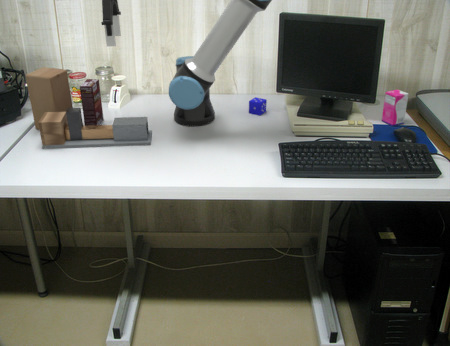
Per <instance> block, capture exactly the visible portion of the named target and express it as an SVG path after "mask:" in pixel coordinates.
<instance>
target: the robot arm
mask: <svg viewBox="0 0 450 346" xmlns="http://www.w3.org/2000/svg"><path fill="white" fill-rule="evenodd" d="M272 1H273V0H230V1H229V3H228V5H227V6H226V7H225V9H224V11H223V12H222V13H221V15H220V16H219V17H218V19H217V21H216V22H215V24H214V25H213V27H212V28H211V30H210V31H209V33H208V34H207V35H206V38H205V39H204V40H203V42H202V43H201V44H200V46H199V47H198V49H197V51H196V52H195V54H194V55H193V56H192V55H191V56H190V55H189V56H188V55H187V56H180V57H178V58H177V59H175V67H176V71H175V74H174V76H173V78H172V80H171V81H170V83H169V85H168V97H169V99H170V101H171V102H172V103H173V104H174V105H175V108H174V113H173V121H174V122H175V123H176V124H179V125H181V126H186V127H200V126H206V125H209V124H212V123H213V122H214V121H215V119H216V115H215V110H214V107H213V104H212V101H211V94H210V92H211V91H210V90H211V89H210V88H211V87H212V85H213V84H214V83H215V81H216V76H215V73H216V72H217V71H218V69H219V68H220V66H221V65H222V63H223V62H224V61H225V59H226V58H227V56H228V55H229V53H230V52H231V51H232V49H233V47H234V46H235V45H236V44H237V42H238V41H239V39H240V37H241V36H242V35H243V33H244V32H245V31H246V29H247V28H248V26H249V25H250V23H252V20H253V19H254V18H255V17H256V14H257V13H259V12H264V11H265V10H266V9H267V8H268V7H269V5H270V4H271V2H272ZM101 8H102V11H101V12H102V21H101V25H102V26H104V32H105V33H104V34H105V35H104V36H105V44H106V47H116V46H117V45H116V43H117V42H116V37H121V25H120V16H121V15H122V14H121V13H122V12H121V11H120V8H119V2H118V0H101Z"/></svg>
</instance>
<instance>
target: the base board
mask: <svg viewBox="0 0 450 346" xmlns="http://www.w3.org/2000/svg"><path fill="white" fill-rule="evenodd" d="M148 130H149V134H147V137H148V140H145V141H114V138H103V139H83V140H65V141H66V142H65V144H64V145H42V144H41V147H42V149H45V150H46V149H48V150H49V149H73V148H74V149H77V148H78V149H81V148H104V147H107V148H109V147H136V146H139V147H140V146H151V144H152V143H151V142H152V135H153V130H150V129H148Z"/></svg>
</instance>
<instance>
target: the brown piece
mask: <svg viewBox="0 0 450 346" xmlns="http://www.w3.org/2000/svg"><path fill="white" fill-rule="evenodd" d="M66 115H67V121H68V126H65V127H64V135H65V140H83V139H103V138H114V136H113V128H112V124H101V125H90V126H85V125H84V123H83V122H84V120H83V114H82V109H81V107H73V108H68V109H67V111H66Z"/></svg>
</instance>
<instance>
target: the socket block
mask: <svg viewBox="0 0 450 346" xmlns="http://www.w3.org/2000/svg"><path fill="white" fill-rule="evenodd" d="M38 125H39V129H38V130H39V133H40V135H39V136H40V139H41V143H42V144H41V146H42V145H64V144H65V142H66V141H65V135H64V127H65V126H68V121H67V115H66V112H45V113H44V115H43V116H42V118H41V119H40V121H39V122H38Z"/></svg>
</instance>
